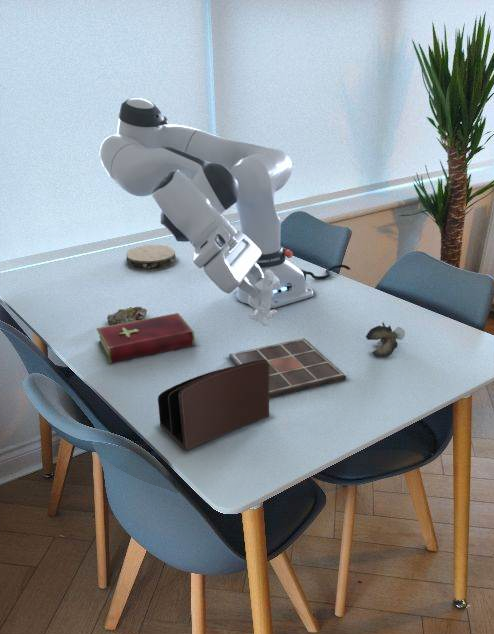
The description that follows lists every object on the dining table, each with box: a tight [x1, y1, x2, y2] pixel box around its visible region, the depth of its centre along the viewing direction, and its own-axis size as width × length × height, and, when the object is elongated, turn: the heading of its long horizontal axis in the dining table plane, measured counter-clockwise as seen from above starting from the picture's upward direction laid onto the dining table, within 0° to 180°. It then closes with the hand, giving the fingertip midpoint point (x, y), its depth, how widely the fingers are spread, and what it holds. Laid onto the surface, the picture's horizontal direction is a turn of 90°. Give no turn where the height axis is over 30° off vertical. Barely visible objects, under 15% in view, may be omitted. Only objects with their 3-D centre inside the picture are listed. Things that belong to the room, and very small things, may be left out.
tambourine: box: [125, 244, 177, 271], centre depth 198 cm, size 16×16×3 cm
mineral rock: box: [106, 306, 148, 325], centre depth 161 cm, size 11×4×8 cm
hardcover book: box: [96, 312, 196, 364], centre depth 148 cm, size 12×21×4 cm, turn 115°
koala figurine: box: [248, 269, 281, 327], centre depth 129 cm, size 8×7×12 cm
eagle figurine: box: [365, 321, 406, 358], centre depth 145 cm, size 8×7×9 cm
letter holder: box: [157, 359, 270, 452], centre depth 117 cm, size 10×20×14 cm, turn 126°
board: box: [228, 337, 347, 399], centre depth 139 cm, size 20×20×1 cm
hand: (261, 289), depth 129 cm, fingers closed on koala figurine, 5 cm apart
